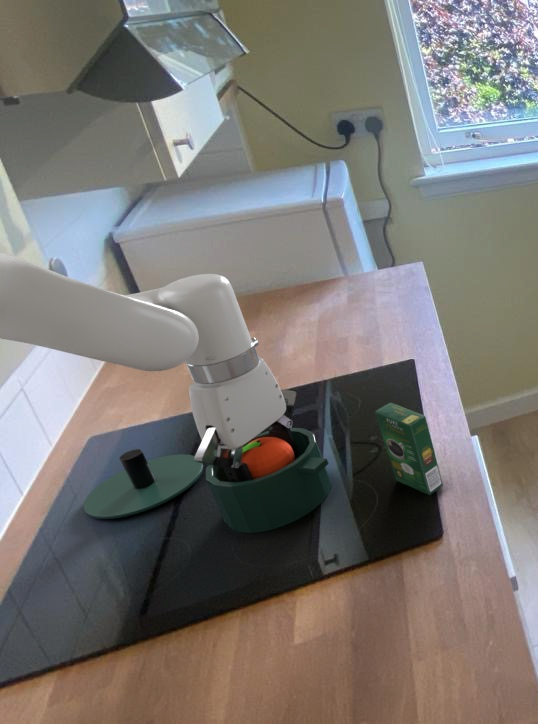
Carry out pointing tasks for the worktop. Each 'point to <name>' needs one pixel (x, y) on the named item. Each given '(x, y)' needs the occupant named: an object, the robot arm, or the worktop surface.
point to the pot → (273, 489)
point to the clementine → (267, 456)
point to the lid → (142, 484)
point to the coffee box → (409, 448)
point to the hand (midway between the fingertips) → (266, 467)
